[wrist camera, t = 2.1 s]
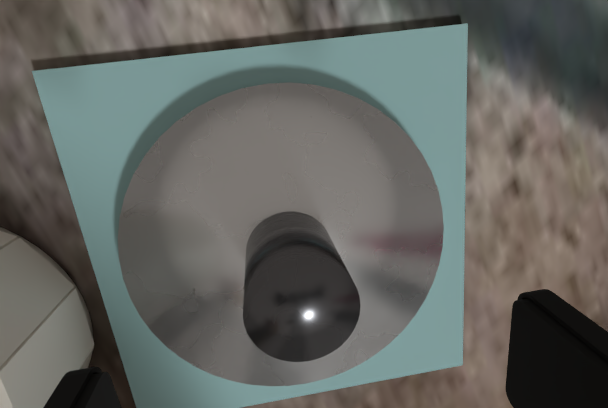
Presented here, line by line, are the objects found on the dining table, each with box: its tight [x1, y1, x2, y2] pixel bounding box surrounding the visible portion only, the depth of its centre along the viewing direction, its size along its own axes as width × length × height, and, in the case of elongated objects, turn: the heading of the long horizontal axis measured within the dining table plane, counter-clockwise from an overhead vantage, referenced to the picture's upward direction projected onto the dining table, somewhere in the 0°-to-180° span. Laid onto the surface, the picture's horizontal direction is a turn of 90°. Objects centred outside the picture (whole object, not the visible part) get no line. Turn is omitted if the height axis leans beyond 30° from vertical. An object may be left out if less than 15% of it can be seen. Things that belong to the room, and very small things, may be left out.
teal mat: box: [32, 23, 468, 408], centre depth 19 cm, size 18×18×1 cm
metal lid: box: [118, 82, 444, 386], centre depth 16 cm, size 15×15×6 cm
